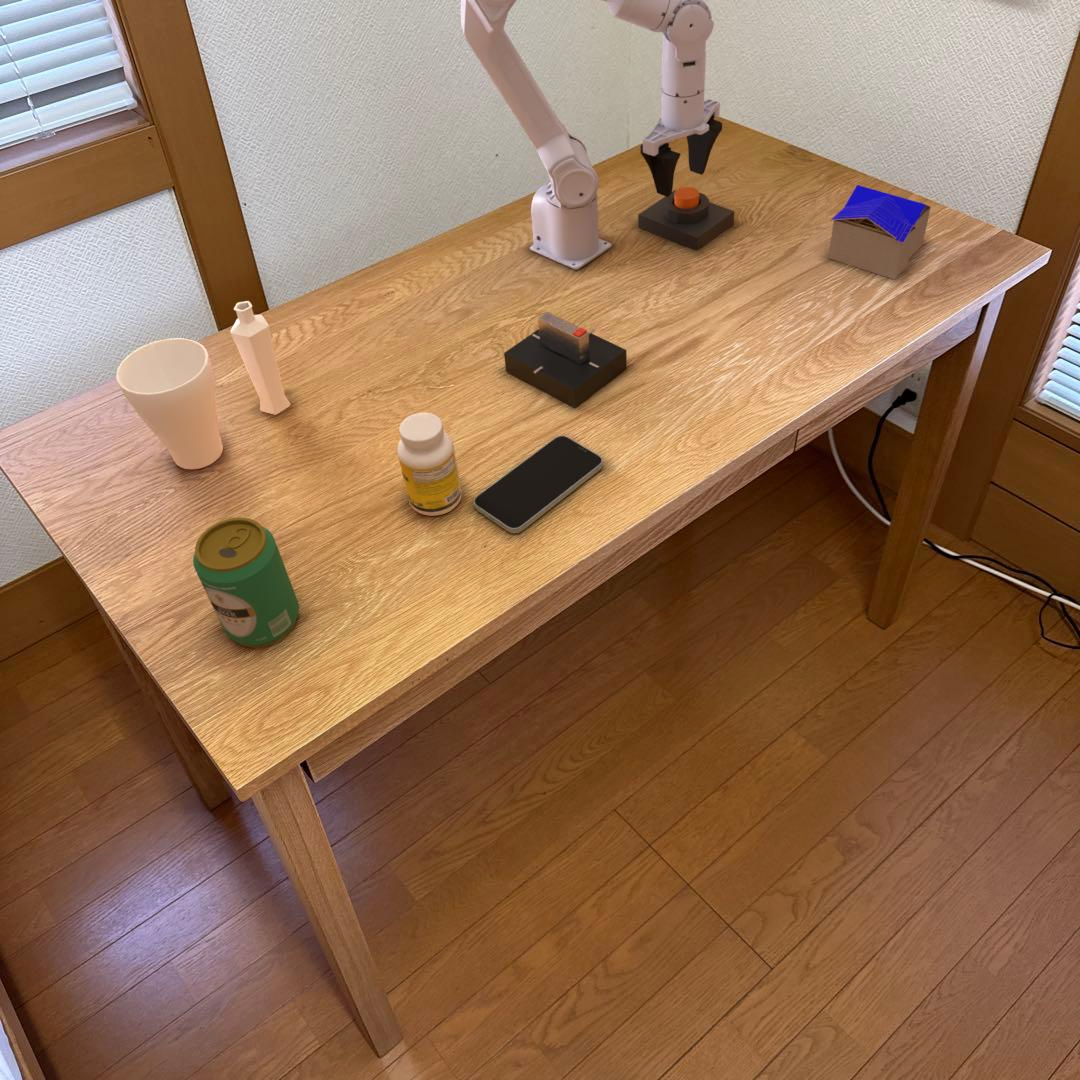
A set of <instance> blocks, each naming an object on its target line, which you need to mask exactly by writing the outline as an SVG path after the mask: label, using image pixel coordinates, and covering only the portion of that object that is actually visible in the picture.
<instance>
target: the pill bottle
mask: <svg viewBox="0 0 1080 1080" xmlns="http://www.w3.org/2000/svg"><path fill="white" fill-rule="evenodd" d="M399 435H400V440H399V442H398V444H397V452H396V453H397V458H398V461H399V467H400V470H401V474H402V479H403V483H404V487H405V491H406V495H407V500H408V503H409V505H410V507H411V508H412V509H413V510H414V511H415V512H416V513H418V514H420V515H424V516H429V517H430V516H431V517H433V516H434V517H435V516H441V515H444V514H447V513H450V512H451V511H453V510H454V509H455V508H456V507H457V506H458V504H459V503H460V502H461V499H462V493H463V492H462V485H461V479H460V474H459V469H458V462H457V458H456V452H455V446H454V442H453V439H452V437H451V436H450V434H449V433H447V432H446V431H445V430H444V425H443V422H442V419H441V418H440V417H439V416H438V415H436V414H434V413H431V412H417V413H413V414H411V415H408V416H407V417H405V418H404V420H403V421H402V422H401V423H400V425H399Z"/></svg>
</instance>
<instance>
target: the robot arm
mask: <svg viewBox="0 0 1080 1080" xmlns="http://www.w3.org/2000/svg"><path fill="white" fill-rule="evenodd" d="M517 1H518V0H460V26H461V27H460V28H461V31H462V34H463V36H464V39H465V42H466V43H467V45H468V46H469V47H470V49H471V51H472V52H473V54H474V55H475V57H476V59H477V60H478V62H479V63H480V65H481V66H482V68H483V69H484V71H485V73H486V74H487V75H488V77H489V79H490V80H491V82H492V83H493V85H494V86H495V88H496V90H497V91H498V93H499V94H500V96H501V97H502V99H503V101H504V102H505V104H506V105H507V107H508V108H509V109H510V112H511V113H512V114H513V116H514V117H515V119H516V120H517V122H518V123H519V126H520V128H522V129H523V131H524V134H525V135H526V136H527V137H528V139H529V140H530V143H531V144H532V145H533V147H534V148H535V150H536V152H537V154H538V156H539V158H540V160H541V162H542V165H543V166H544V168H545V171H546V172H547V175H548V177H549V182H548V183H545V184H542V185H541V186H540V187H539V188H538V189H537V190H536V192H535V193H534V194H533V197H532V201H531V206H530V216H531V227H532V239H533V244H532V245H530V246H529V250H530V251H532V252H534V253H536V254H537V255H538V254H539V255H541V256H543V257H546V258H548V259H550V260H551V261H552V260H553V261H555V262H557V263H559V264H561V265H564V266H566V267H568V268H571V269H573V270H575V271H577V270H580V269H581V268H583V267H584V266H585V265H587V264H589V263H590V262H591V261H593V260H595V259H596V258H597V257H599V256H601V255H602V254H603V253H605V252H606V251H608V250H610V249H611V248H612V243H611V242H608V241H606V240H604V239H601V238H600V237H599V215H598V214H599V211H598V209H599V208H598V190H599V187H600V183H599V182H600V181H599V176H598V173H597V172H596V171H595V169H594V168H593V165H592V163H591V160H590V158H589V156H588V152H587V148H586V145H585V144H584V142H583V141H582V140H581V139H580V138H578V137H576V136H575V135H572V134H571V133H570V132H569V131H568V129H567V128H566V126H565V125H564V124H563V123H562V122H561V120H560V119H559V117H558V116H557V114H556V112H555V110H554V109H553V107H552V106H551V104H550V103H549V101H548V99H547V97H546V96H545V94H544V92H543V91H542V89H541V88H540V86H539V84H538V83H537V81H536V79H535V78H534V76H533V75H532V73H531V71H530V69H529V68H528V67H527V65H526V63H525V61H524V60H523V58H522V57H521V55H520V53H519V51H518V50H517V48H516V47H515V45H514V44H513V42H512V41H511V39H510V37H509V35H508V34H507V32H506V30H505V29H504V28H505V25H506V22H507V18H508V15H509V12H510V11H511V10H512V9H513V6H514V5H515V4H516V3H517ZM601 1H602V2H605V4H606V7H607V10H608V13H609V14H610V16H611V17H613V18H616V19H619V20H621V21H625V22H627V23H630V24H632V25H635V26H637V27H640V28H643V29H646V30H648V31H651V32H653V33H662V52H661V91H660V92H661V93H660V94H661V98H660V101H661V102H660V103H661V105H660V119H659V120H658V121H657V123H656V124H655V125H654V126H653V128H652V130H651V131H650V132H649V134H647V135H646V136H645V137H643V138H642V144H640V154H641V156H642V157H643V159H644V160H645V162H646V164H647V166H648V169H649V170H650V173H651V176H652V179H653V182H654V187H655V191H656V194H658V195H661V196H663V197H665V196H666V197H669V196H670V195H671V193H672V192H673V189H674V177H675V171H676V167H677V165H678V161H679V159H680V157H681V153H680V152H677V151H674V150H672V147H671V146H670V143H672V142H674V141H676V140H679V139H680V140H681V139H683V138H686V141H687V150H688V151H687V152H688V154H687V155H688V166H689V167H688V168H689V171H690V172H691V173H695V174H697V175H700V176H702V175H704V174H705V171H706V168H707V165H708V161H709V158H710V155H711V153H712V149H713V147H714V144H715V142H716V140H717V138H718V137H719V135H720V133H721V132H722V130H723V122H722V121H720V120H716V119H715V118H719V116H720V113H721V111H720V110H721V109H720V108H721V102H720V101H718V100H714V99H711V98H707V99H706V100H705V85H706V64H707V63H706V62H707V51H706V50H707V40H709V38H710V36H711V34H712V32H713V30H714V25H715V21H714V20H713V19H712V12H711V10H710V8H709V6H708V5H707V3H706V2H705V1H704V0H601Z"/></svg>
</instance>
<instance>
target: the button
mask: <svg viewBox="0 0 1080 1080" xmlns="http://www.w3.org/2000/svg"><path fill="white" fill-rule="evenodd" d="M675 190H676V191H675V193H674V205H675V207H678V208H680V209H692V208H696V207H697V206H698V205H699V193H700V191H699V190H698V189H697V188H695V187H692V186H684V187H679V188H677V189H675Z"/></svg>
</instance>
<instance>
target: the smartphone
mask: <svg viewBox="0 0 1080 1080" xmlns="http://www.w3.org/2000/svg"><path fill="white" fill-rule="evenodd" d="M603 467H604V461H603V457H602V456H601V455H599V454H598V453H596V452H594V451H593V450H591V449H589V448H588V447H586V446H584V445H583V444H582V443H579V442H577V441H576V440H574V439H573V438H571V437H569V436H567V435H558V436H556V437H553V439H551V440H549V441H548V442H547V443H545V445H543V446H542V447H540V448H539V449H538V450H536V451H535V452H534V453H532V454H531V455H530V456H528V457H527V458H525V459H524V460H523V461H521V462H520V463H519V464H517V465H516V466H515V467H514V468H512V469H511V470H509V471H508V472H507V473H506V474H504V475H503V476H502V477H500V478H499V479H497V480H496V481H495V482H494V483H492V484H491V485H489V486H488V487H486V488H485V489H483V491H482V492H479V494H478V495H476V496H475V497H474V499H473V505H474V509H475V510H476V511H477V512H478V513H480V514H481V515H483V516H484V517H485V518H487V519H489V520H491V521H492V522H493V523H494V524H496V525H498V526H499V527H500V528H502V529H504V530H505V531H506V532H508V533H510V534H519V533H522V532H524V530H525V529H527V528H528V527H530V526H531V525H532V524H533V523H534V522H536V521H537V520H538V519H539V518H542V516H543V515H544V514H546V513H547V512H548V511H550V510H551V509H553V508H554V507H555V506H556V505H557V504H559V503H560V502H562V500H564V499H565V498H566V497H568V496H570V494H571V493H573V492H574V491H575V490H577V488H579V487H580V486H582V484H584V483H586V482H587V481H588V480H589V479H590V478H591V477H593V476H594V475H596V473H598V472H599V471H600V470H602V468H603Z"/></svg>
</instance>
